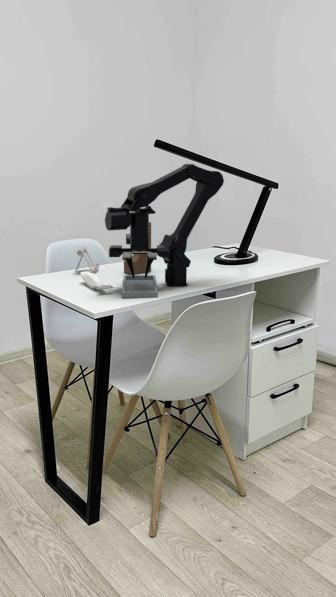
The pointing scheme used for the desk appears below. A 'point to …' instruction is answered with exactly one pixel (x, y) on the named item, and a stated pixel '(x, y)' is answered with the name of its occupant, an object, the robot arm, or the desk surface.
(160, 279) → the desk surface
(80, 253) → the portable electronic device stand
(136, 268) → the brown boot
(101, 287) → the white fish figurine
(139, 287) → the razor tray
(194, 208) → the robot arm
